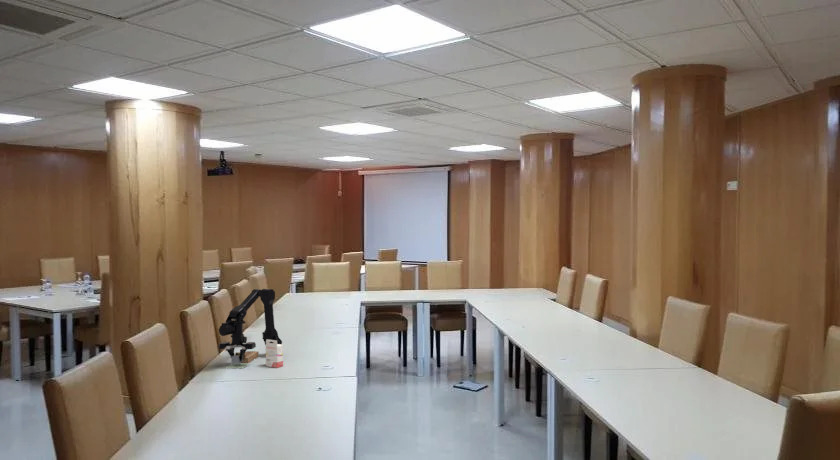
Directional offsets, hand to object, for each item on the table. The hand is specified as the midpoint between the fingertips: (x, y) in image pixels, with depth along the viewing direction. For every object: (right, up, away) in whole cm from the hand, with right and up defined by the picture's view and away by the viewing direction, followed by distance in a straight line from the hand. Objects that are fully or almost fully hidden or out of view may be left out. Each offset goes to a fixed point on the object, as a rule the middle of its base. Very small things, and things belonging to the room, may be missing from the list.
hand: (237, 361), depth 310 cm
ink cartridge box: (+20, -3, 0) cm, 20 cm away
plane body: (+1, -3, +14) cm, 14 cm away
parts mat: (0, -3, 0) cm, 3 cm away
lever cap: (0, -1, 0) cm, 1 cm away
